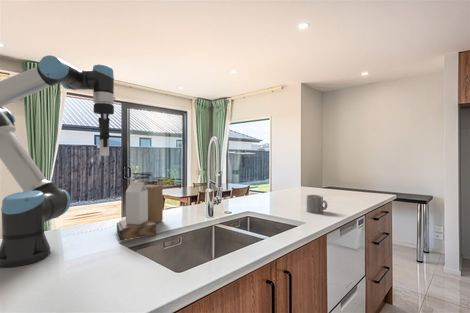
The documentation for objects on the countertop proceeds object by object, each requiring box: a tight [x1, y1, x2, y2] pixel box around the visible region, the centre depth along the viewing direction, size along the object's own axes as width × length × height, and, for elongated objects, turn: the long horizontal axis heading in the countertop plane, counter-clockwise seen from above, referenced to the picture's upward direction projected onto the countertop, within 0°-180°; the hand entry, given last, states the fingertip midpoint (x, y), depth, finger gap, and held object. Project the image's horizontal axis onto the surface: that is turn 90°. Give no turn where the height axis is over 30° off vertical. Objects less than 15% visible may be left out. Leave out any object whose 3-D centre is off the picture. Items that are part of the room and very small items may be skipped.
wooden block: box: [144, 184, 164, 224], centre depth 139 cm, size 10×10×20 cm
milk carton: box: [125, 181, 148, 225], centre depth 121 cm, size 7×7×19 cm
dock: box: [116, 217, 157, 241], centre depth 121 cm, size 15×14×5 cm
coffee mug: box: [306, 194, 328, 214], centre depth 163 cm, size 13×10×10 cm
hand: (104, 155), depth 106 cm, fingers open, 13 cm apart
